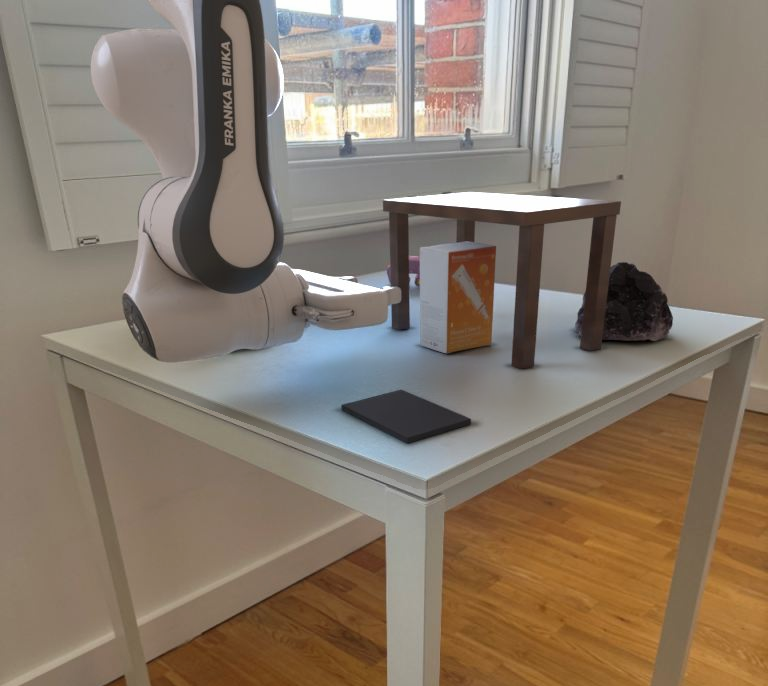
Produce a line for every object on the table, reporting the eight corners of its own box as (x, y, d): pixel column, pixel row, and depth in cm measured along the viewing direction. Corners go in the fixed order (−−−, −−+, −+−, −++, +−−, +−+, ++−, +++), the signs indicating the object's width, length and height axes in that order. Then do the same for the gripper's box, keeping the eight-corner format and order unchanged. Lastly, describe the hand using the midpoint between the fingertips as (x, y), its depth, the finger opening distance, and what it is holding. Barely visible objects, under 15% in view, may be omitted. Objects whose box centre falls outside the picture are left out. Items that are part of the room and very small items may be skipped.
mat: (341, 409, 75) (341, 404, 75) (401, 394, 79) (401, 389, 79) (407, 443, 67) (407, 437, 66) (471, 424, 70) (471, 418, 70)
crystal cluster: (643, 356, 92) (664, 278, 87) (551, 333, 99) (566, 259, 94) (679, 342, 101) (700, 270, 96) (593, 322, 108) (608, 254, 103)
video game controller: (387, 295, 136) (383, 264, 130) (390, 280, 138) (386, 249, 133) (438, 295, 134) (436, 264, 128) (440, 280, 137) (438, 249, 131)
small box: (446, 355, 93) (448, 251, 86) (418, 345, 97) (417, 246, 91) (493, 344, 96) (497, 244, 90) (464, 335, 101) (466, 240, 95)
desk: (386, 329, 106) (382, 199, 98) (466, 313, 114) (469, 192, 105) (516, 371, 86) (526, 212, 77) (603, 347, 93) (621, 201, 85)
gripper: (317, 288, 70) (427, 271, 77) (234, 266, 85) (331, 253, 92) (322, 351, 73) (427, 329, 80) (240, 318, 88) (334, 302, 95)
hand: (375, 288), depth 86 cm, fingers open, 8 cm apart
